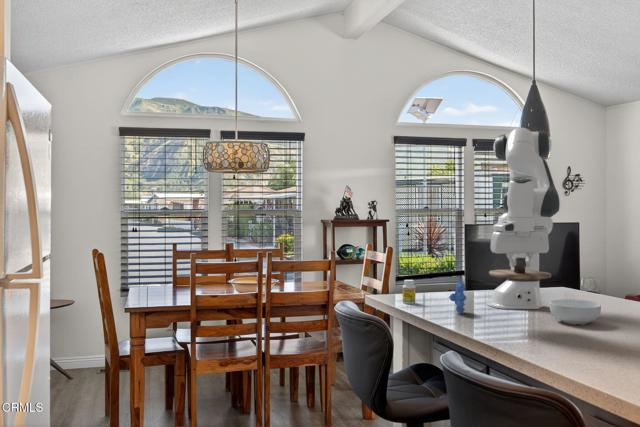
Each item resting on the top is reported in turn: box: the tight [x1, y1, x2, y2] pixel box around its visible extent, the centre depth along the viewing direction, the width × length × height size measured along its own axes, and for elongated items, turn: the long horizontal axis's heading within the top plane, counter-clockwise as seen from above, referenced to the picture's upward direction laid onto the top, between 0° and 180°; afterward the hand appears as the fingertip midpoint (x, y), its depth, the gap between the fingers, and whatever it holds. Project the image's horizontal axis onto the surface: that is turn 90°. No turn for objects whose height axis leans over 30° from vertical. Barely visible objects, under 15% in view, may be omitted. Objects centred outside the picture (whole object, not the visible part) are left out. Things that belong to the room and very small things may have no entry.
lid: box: [488, 258, 552, 280], centre depth 203 cm, size 20×20×6 cm
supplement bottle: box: [402, 279, 416, 305], centre depth 253 cm, size 5×5×10 cm
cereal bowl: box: [548, 298, 602, 326], centre depth 212 cm, size 17×17×7 cm
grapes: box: [448, 281, 467, 315], centre depth 230 cm, size 12×7×12 cm, turn 169°
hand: (519, 266), depth 203 cm, fingers closed on lid, 4 cm apart
